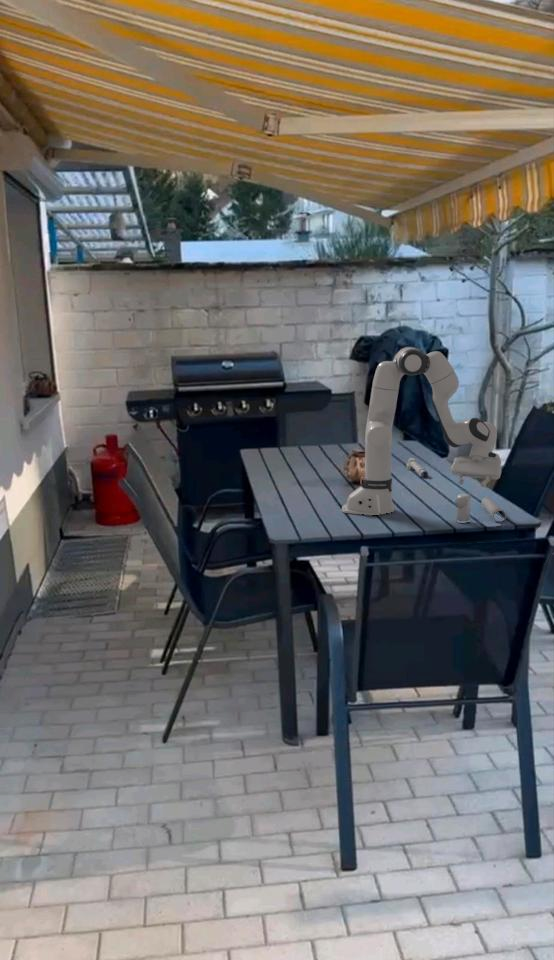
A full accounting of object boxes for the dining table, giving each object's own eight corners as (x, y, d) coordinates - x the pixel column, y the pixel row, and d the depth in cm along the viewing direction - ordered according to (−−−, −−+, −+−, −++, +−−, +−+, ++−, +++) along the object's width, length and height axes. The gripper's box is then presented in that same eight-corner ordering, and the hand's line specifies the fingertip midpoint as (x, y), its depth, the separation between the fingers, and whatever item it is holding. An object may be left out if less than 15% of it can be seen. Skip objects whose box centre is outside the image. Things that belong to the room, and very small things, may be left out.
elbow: (458, 519, 320) (459, 493, 318) (471, 521, 317) (473, 494, 315) (452, 524, 314) (453, 497, 311) (465, 525, 311) (466, 499, 308)
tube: (478, 498, 340) (491, 512, 315) (490, 494, 339) (504, 508, 315) (481, 509, 341) (495, 524, 316) (493, 505, 340) (508, 520, 316)
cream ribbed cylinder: (419, 471, 396) (405, 455, 419) (418, 483, 398) (404, 467, 421) (429, 470, 396) (415, 455, 419) (428, 483, 399) (414, 466, 422)
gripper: (454, 451, 330) (445, 478, 324) (502, 455, 320) (494, 483, 314) (457, 459, 335) (448, 486, 329) (505, 463, 325) (497, 491, 319)
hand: (471, 484), depth 321 cm, fingers open, 8 cm apart
